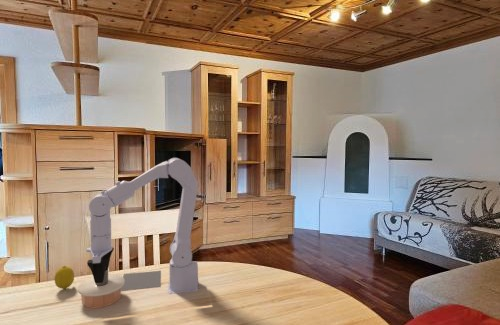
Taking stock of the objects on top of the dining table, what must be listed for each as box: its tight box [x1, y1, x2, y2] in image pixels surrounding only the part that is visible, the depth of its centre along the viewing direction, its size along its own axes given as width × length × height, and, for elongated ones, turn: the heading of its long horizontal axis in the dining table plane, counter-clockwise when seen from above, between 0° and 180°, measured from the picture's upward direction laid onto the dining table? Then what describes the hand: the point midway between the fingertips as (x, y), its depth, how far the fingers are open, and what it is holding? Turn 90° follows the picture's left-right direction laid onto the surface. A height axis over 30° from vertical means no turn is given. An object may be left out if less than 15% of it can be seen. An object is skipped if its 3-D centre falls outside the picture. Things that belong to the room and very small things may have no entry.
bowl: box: [80, 289, 122, 309], centre depth 96 cm, size 11×11×4 cm
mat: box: [121, 270, 162, 292], centre depth 109 cm, size 13×13×1 cm
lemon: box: [54, 265, 75, 290], centre depth 102 cm, size 6×6×8 cm
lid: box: [77, 269, 125, 297], centre depth 96 cm, size 13×13×4 cm
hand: (101, 276), depth 96 cm, fingers open, 7 cm apart
